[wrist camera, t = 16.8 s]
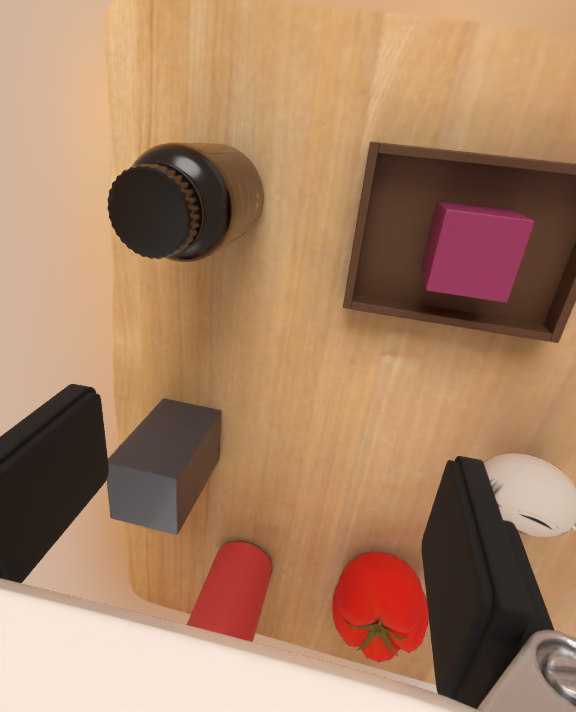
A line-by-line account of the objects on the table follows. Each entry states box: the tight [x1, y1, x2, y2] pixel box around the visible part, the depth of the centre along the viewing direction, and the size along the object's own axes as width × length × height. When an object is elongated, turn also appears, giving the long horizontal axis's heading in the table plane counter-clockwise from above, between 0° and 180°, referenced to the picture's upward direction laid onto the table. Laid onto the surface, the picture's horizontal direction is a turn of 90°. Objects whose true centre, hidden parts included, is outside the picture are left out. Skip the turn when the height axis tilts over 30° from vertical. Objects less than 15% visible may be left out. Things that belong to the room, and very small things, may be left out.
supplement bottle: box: [108, 143, 263, 262], centre depth 28 cm, size 7×7×12 cm
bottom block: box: [107, 399, 221, 535], centre depth 39 cm, size 6×6×10 cm
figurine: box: [484, 453, 576, 537], centre depth 35 cm, size 8×6×7 cm
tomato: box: [332, 552, 429, 662], centre depth 43 cm, size 9×9×8 cm
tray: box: [343, 142, 576, 343], centre depth 30 cm, size 15×11×3 cm
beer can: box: [187, 541, 272, 642], centre depth 45 cm, size 7×7×12 cm
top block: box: [421, 201, 535, 303], centre depth 29 cm, size 5×5×5 cm
